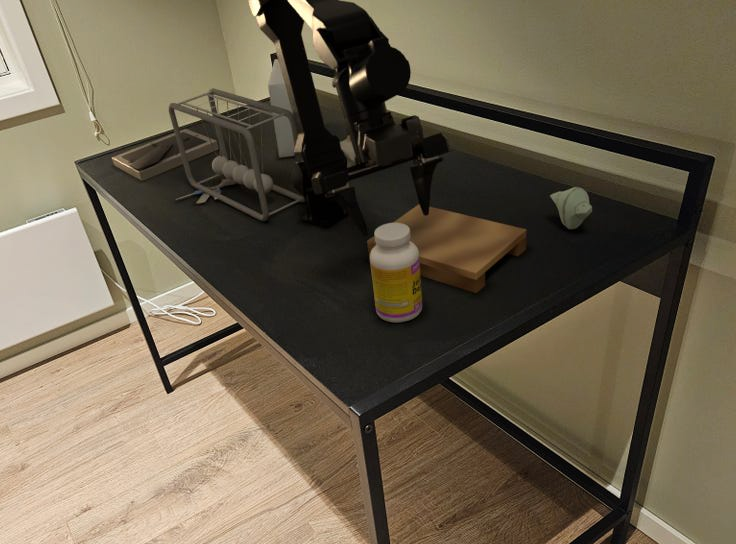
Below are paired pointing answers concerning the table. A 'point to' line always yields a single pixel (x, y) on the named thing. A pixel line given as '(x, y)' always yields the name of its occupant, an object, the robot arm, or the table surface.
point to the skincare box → (281, 123)
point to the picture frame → (163, 154)
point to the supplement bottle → (396, 274)
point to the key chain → (205, 196)
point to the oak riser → (459, 245)
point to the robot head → (572, 206)
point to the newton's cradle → (221, 163)
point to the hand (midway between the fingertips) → (396, 225)
